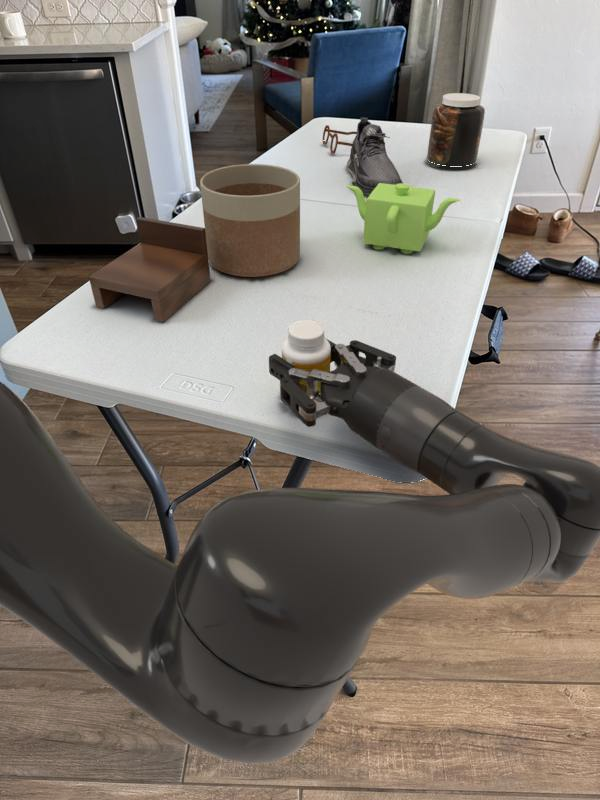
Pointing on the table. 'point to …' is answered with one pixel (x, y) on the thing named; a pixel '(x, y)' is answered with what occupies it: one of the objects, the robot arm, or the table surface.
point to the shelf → (157, 268)
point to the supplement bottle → (307, 347)
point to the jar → (456, 132)
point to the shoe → (370, 159)
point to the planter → (252, 219)
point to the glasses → (336, 138)
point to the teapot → (399, 215)
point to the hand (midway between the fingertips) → (291, 351)
